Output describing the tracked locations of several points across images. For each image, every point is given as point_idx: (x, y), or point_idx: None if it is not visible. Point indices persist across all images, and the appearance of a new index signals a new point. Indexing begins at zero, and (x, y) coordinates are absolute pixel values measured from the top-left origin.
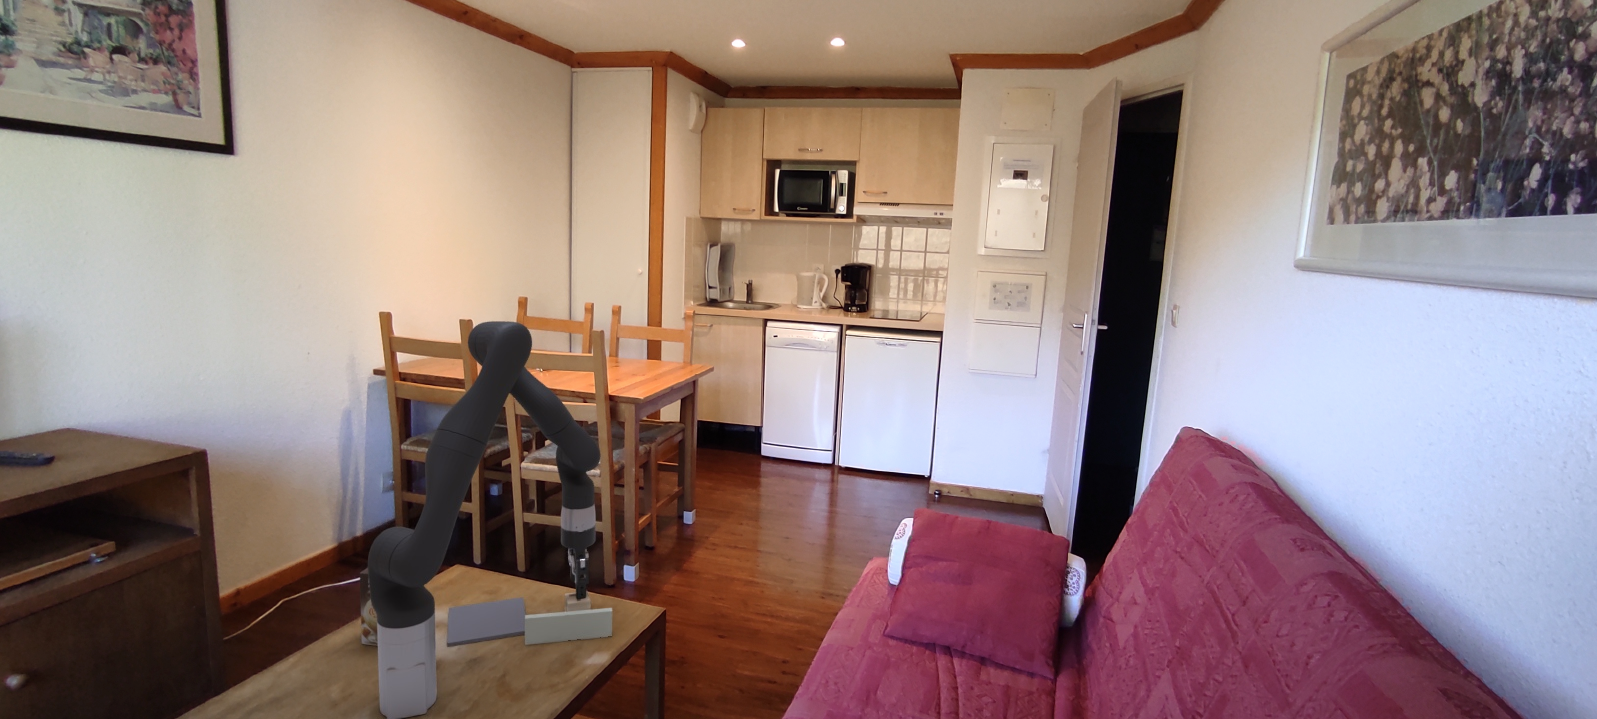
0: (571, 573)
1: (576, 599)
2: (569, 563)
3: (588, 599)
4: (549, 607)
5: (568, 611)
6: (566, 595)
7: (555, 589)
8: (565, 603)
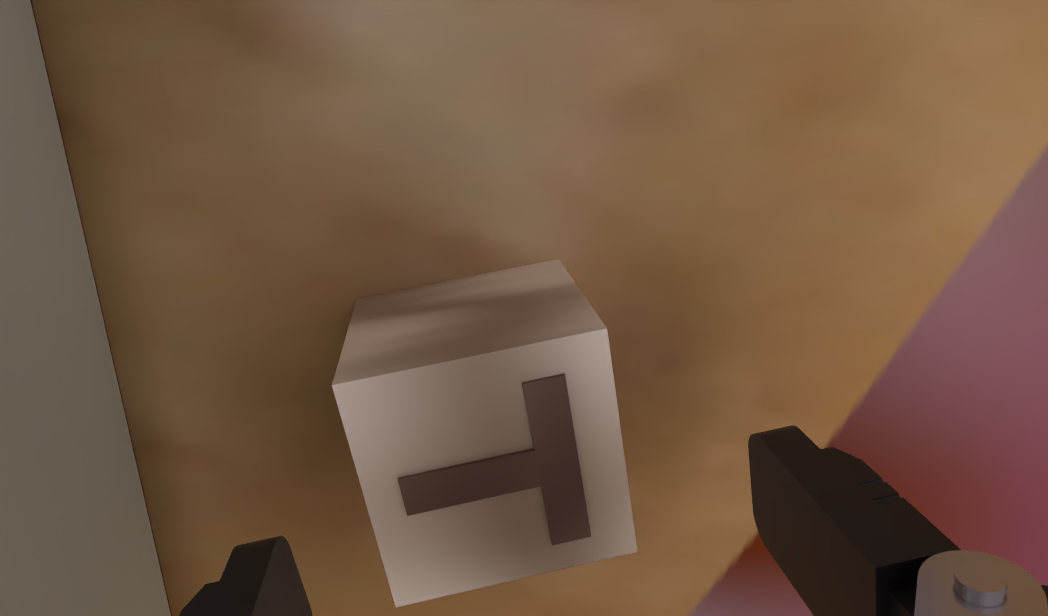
0: (816, 506)
1: (438, 465)
2: (975, 589)
3: (421, 582)
4: (704, 103)
5: (342, 351)
6: (556, 348)
7: (1041, 134)
8: (542, 302)
